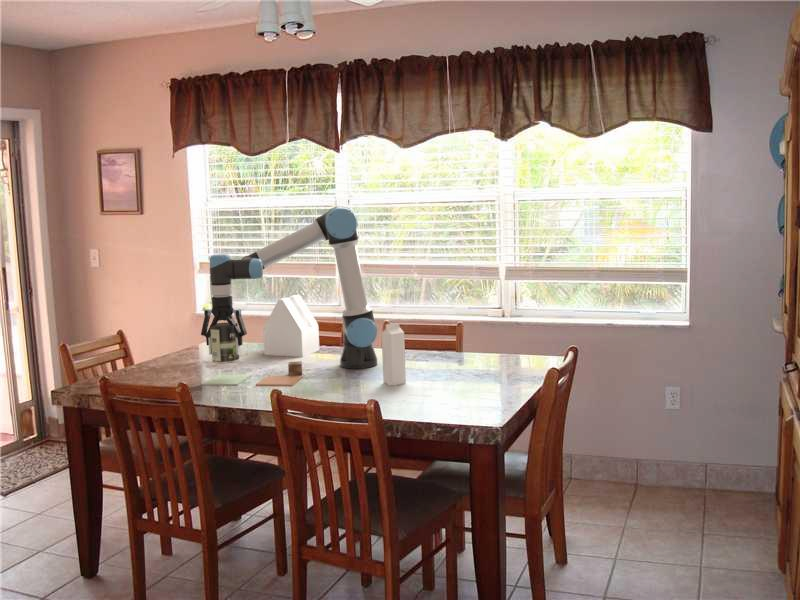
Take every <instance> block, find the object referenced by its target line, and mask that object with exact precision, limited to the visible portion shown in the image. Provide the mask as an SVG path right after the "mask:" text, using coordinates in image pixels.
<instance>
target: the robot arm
mask: <svg viewBox="0 0 800 600" xmlns="http://www.w3.org/2000/svg"><path fill="white" fill-rule="evenodd" d="M358 225H359V224H358V218H357V216H356V214H355V212H353V210H351V209H350V208H348V207H346V206H335V207H332V208H330V209H329V210H327V211H326V212H325V213H323V214H322V215H320V216H319V217H316V218H315V219H314V220H313V222H312V223H310V224H309V225H306V226H304V227H302V228H300V229H298V230H296V231H295V232H292V233H290V234H288V235H287V236H284V237H282V238H280V239H278V240H277V241H275V242H272V243H270V244H268V245H266V246H263V247H262V248H260V249H259V250H256V251H255V252H252V253H250V254H248V255H246V256H243V257H242V258H239V259H238V258H237V259H231V257H230V255H229V254H224V253H223V254H212V255H211V256H210V257H209V277H210V294H211V309H205V310H204V311H203V312H204V313H203V314H204V319H203V322H202V328H201V330H200V331H201V332H200V335H201V336H202V337H203V336H204V337H205V338H206V339H205V340H206V346H208V351H209V352H208V353H209V355H211V356H212V347H211V331H210V326H209V324H210V319H211V316H213V319H212V322H211V324H210V325H212V326H214V325H216V324H217V323H219V321H226V323H229V324H230V325H236V323H237V324H238V326H234V332H235V334H236V335H237V337H236V338H235V341H236V355H239V356H240V354H241V353H242V352H241V346H243V337H244V336H246V335H247V334H248V332H247V330H246V326H245V323H244V320H243V317H242V309H234V308H233V296H232V293H233V291H232V290H233V289H232V280H251V279H252V280H255V279H262V278H263V276H264V269H267V268H269V267H271V266H273V265H274V264H278V263H279V262H281V261H283V260H285V259H287V258H290V256H293V255H295V254H298V253H299V252H301V251H303V250H305V249H307V248H309V247H311V246H314V245H315V244H317V243H319V242H322V241H324V242H327V241H328V244H329V246H330V247H332V248H333V249H334V256H335V261H336V265H337V270H338V275H339V276H338V277H339V282H340V288H341V291H342V292H341V293H342V298H343V302H344V308H345V309H344V310H342V316H341V319H342V331H343V332H342V335H343V348H342V352H341V356H340V360H339V366H340V367H341V368H344V369H367V368H372V367H376V366H378V357H377V355H376V351H375V348H374V345H373V343H374V342H375V341H376V339H377V335H378V327H377V324H376V323H375V319H374V311H373V308H371V307H370V306H369V304H368V301H367V297H366V296H367V295H366V291H365V286H364V279H363V273H362V268H361V262H360V257H359V252H358V247H357V244H358V243H359V242H360V236H359V230H358ZM233 314H234V316H235V318H234V317H233ZM235 320H236V321H235Z"/></svg>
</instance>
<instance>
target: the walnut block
mask: <svg viewBox="0 0 800 600" xmlns="http://www.w3.org/2000/svg"><path fill="white" fill-rule="evenodd" d="M287 368H288V369H287V370H288V375H291V376H303V362H302V361H301V360H299V361H289V362H288V363H287Z"/></svg>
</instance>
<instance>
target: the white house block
mask: <svg viewBox="0 0 800 600" xmlns="http://www.w3.org/2000/svg"><path fill="white" fill-rule="evenodd" d="M319 329H320V328H319V324H318V322H317V320H316V319H315V317H314V315H313V314H312V313H311V310H310V309H309V307H308V306H307V304H306V303H305V301H304V299H303V298H302V296H301V295H300V294H294V295H290V296H289V297H282V298H278V299H277V301H276V303H275V305H274V307H273V309H272V311H271V313H270V315H269V317H268V318H267V321H266V323H265V325H264V327H263V328H262V332H263V350H264V352H263V353H264V356H266V355H267V356H280V357H282V356H284V357H296V358H299V357H301V358H303V357H306V356H308V355H310V354H311V355H312V354H313V353H316V352H318V351H320V334H319V333H320V330H319Z"/></svg>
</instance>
